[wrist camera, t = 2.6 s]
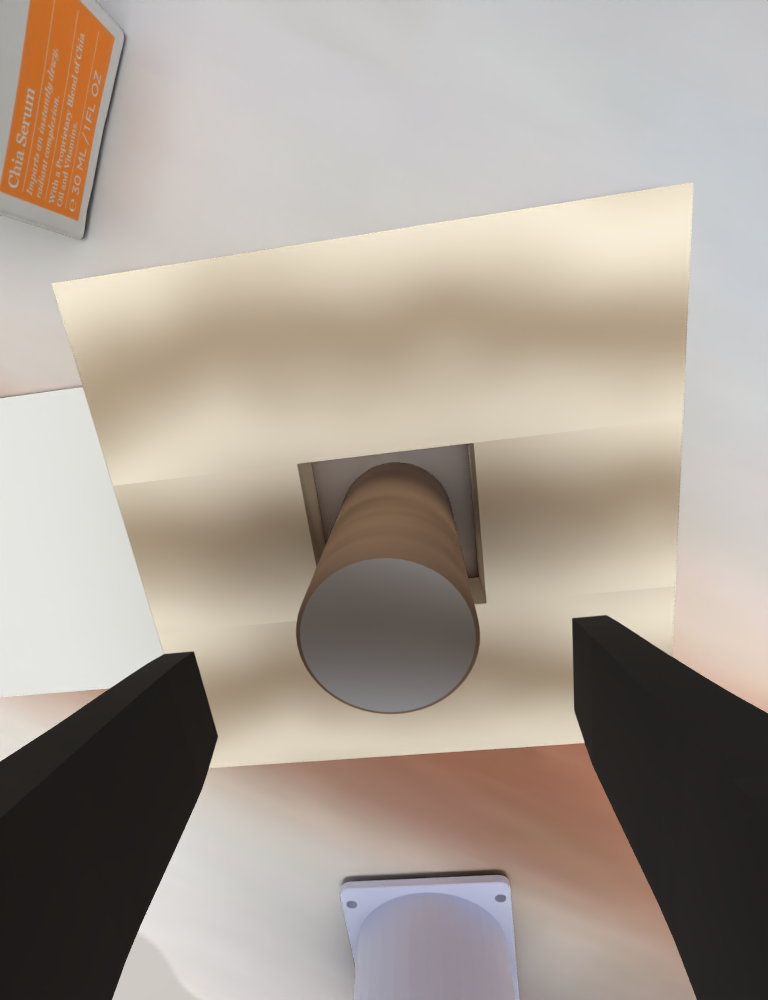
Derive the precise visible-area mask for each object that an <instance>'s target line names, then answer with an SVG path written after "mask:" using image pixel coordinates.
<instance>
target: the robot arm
mask: <svg viewBox="0 0 768 1000" xmlns="http://www.w3.org/2000/svg"><path fill="white" fill-rule="evenodd" d="M572 639H573V683H574V712H575V715H576V718H577V721H578V724H579V727H580V730H581V733H582V736H583V739H584V742H585V745H586V748H587V750H588V753H589V756H590V759H591V762H592V765H593V767H594V769H595V771H596V773H597V776H598V778H599V780H600V782H601V784H602V786H603V788H604V790H605V793H606V795H607V797H608V799H609V801H610V803H611V805H612V807H613V810H614V812H615V814H616V816H617V818H618V820H619V822H620V824H621V826H622V828H623V831H624V833H625V835H626V837H627V839H628V841H629V843H630V845H631V847H632V849H633V851H634V854H635V856H636V858H637V860H638V862H639V864H640V866H641V868H642V870H643V872H644V874H645V877H646V879H647V881H648V883H649V885H650V887H651V889H652V891H653V893H654V895H655V898H656V900H657V902H658V904H659V906H660V908H661V911H662V913H663V915H664V918H665V920H666V922H667V925H668V927H669V929H670V931H671V934H672V936H673V938H674V941H675V943H676V946H677V948H678V951H679V954H680V956H681V959H682V962H683V964H684V967H685V969H686V972H687V975H688V977H689V980H690V982H691V985H692V988H693V990H694V993H695V996H696V998H697V1000H768V713H766V712H764V711H763V710H761V709H759V708H757V707H755V706H754V705H752V704H750V703H748V702H746V701H745V700H743V699H741V698H739V697H737V696H736V695H734V694H732V693H730V692H729V691H727V690H725V689H724V688H722V687H720V686H719V685H717V684H715V683H714V682H712V681H710V680H709V679H707V678H705V677H704V676H702V675H700V674H699V673H697V672H695V671H694V670H692V669H691V668H689V667H687V666H686V665H684V664H683V663H681V662H679V661H678V660H676V659H675V658H673V657H672V656H670V655H668V654H667V653H665V652H664V651H662V650H661V649H659V648H658V647H656V646H655V645H653V644H651V643H650V642H648V641H647V640H645V639H644V638H642V637H641V636H639V635H638V634H636V633H635V632H633V631H632V630H630V629H628V628H627V627H625V626H624V625H622V624H621V623H619V622H617V621H616V620H614V619H612V618H611V617H609V616H607V615H601V616H590V617H579V618H572ZM217 739H218V734H217V731H216V727H215V724H214V720H213V716H212V713H211V709H210V706H209V702H208V699H207V695H206V692H205V688H204V685H203V681H202V678H201V674H200V671H199V667H198V664H197V660H196V657H195V653H194V651H192V652H180V653H169V654H163V655H161V656H160V657H158V658H156V659H154V660H153V661H151V662H149V663H148V664H146V665H144V666H143V667H141V668H140V669H138V670H137V671H135V672H134V673H132V674H131V675H129V676H128V677H126V678H125V679H123V680H122V681H120V682H119V683H117V684H116V685H114V686H113V687H111V688H110V689H109V690H107V691H106V692H104V693H103V694H101V695H100V696H98V697H97V698H95V699H94V700H93V701H91V702H90V703H88V704H87V705H85V706H84V707H82V708H81V709H79V710H78V711H77V712H75V713H74V714H72V715H71V716H69V717H68V718H66V719H65V720H63V721H62V722H60V723H59V724H57V725H56V726H55V727H53V728H51V729H50V730H48V731H47V732H45V733H44V734H42V735H41V736H39V737H38V738H36V739H34V740H33V741H31V742H30V743H28V744H27V745H25V746H24V747H22V748H21V749H19V750H18V751H16V752H14V753H13V754H11V755H10V756H8V757H7V758H5V759H4V760H2V761H1V762H0V1000H112V998H113V995H114V992H115V989H116V987H117V984H118V981H119V978H120V976H121V973H122V970H123V967H124V964H125V962H126V959H127V957H128V954H129V952H130V949H131V947H132V945H133V942H134V939H135V937H136V935H137V932H138V930H139V928H140V925H141V923H142V921H143V919H144V916H145V914H146V912H147V910H148V908H149V905H150V903H151V901H152V899H153V897H154V894H155V892H156V890H157V888H158V886H159V884H160V881H161V879H162V877H163V875H164V873H165V870H166V868H167V866H168V864H169V862H170V859H171V857H172V855H173V853H174V851H175V849H176V846H177V844H178V842H179V840H180V838H181V835H182V833H183V831H184V829H185V826H186V824H187V822H188V820H189V818H190V815H191V813H192V811H193V809H194V806H195V804H196V802H197V799H198V797H199V795H200V792H201V790H202V787H203V784H204V781H205V778H206V775H207V772H208V769H209V766H210V763H211V759H212V756H213V752H214V749H215V746H216V742H217ZM340 899H341V904H342V908H343V913H344V917H345V922H346V926H347V931H348V936H349V940H350V945H351V949H352V954H353V958H354V963H355V967H356V969H355V981H354V992H353V1000H519V990H518V977H517V964H516V952H515V939H514V926H513V914H512V901H511V889H510V883H509V880H508V879H507V878H506V877H505V876H502V875H483V876H461V877H440V878H418V879H396V880H374V881H352V882H346V883H344V884H343V885H342V886H341V890H340Z"/></svg>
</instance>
